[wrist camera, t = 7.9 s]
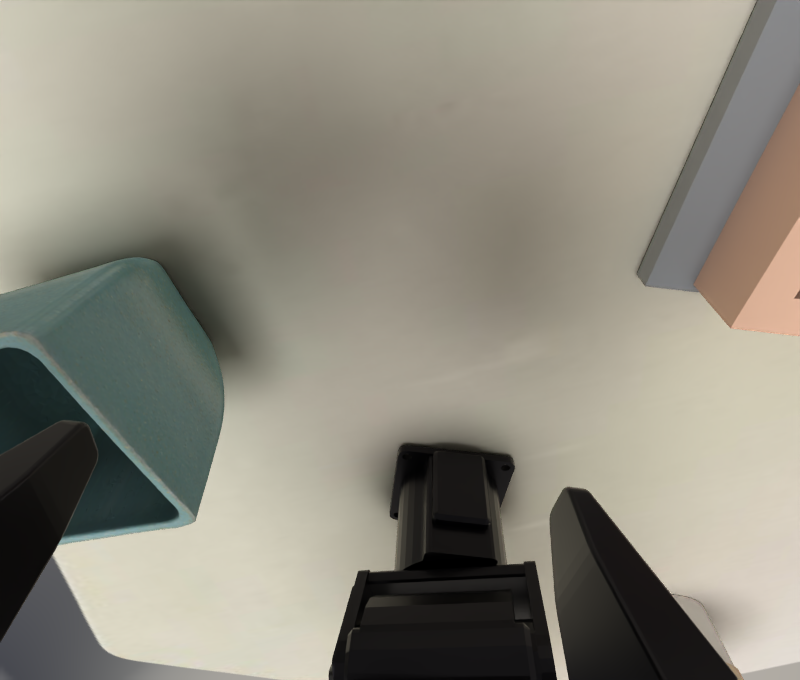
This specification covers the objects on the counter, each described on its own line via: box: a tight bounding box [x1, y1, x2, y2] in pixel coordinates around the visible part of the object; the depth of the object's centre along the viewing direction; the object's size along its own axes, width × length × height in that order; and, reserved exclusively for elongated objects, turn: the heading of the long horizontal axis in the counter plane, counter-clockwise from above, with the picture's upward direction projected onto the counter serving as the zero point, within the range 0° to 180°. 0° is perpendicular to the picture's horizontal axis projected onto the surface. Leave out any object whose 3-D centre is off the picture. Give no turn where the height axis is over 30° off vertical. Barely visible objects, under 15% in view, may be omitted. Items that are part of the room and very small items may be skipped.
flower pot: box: [0, 257, 224, 545], centre depth 19 cm, size 9×9×9 cm
